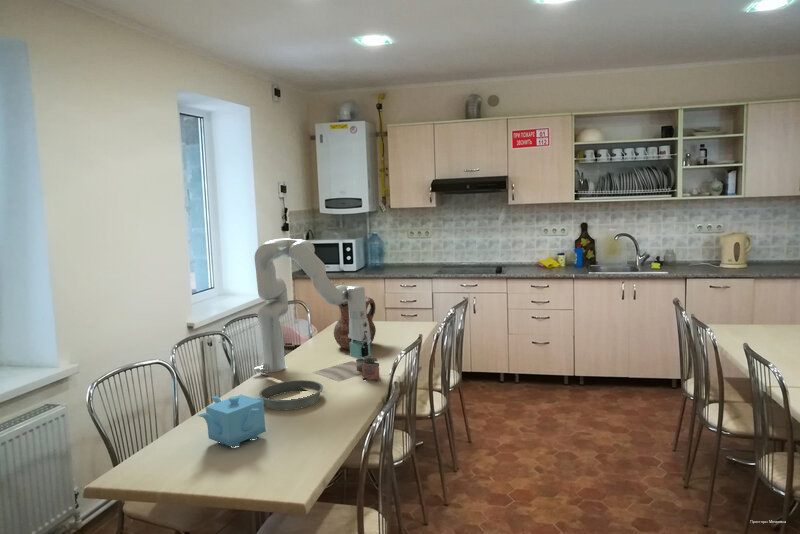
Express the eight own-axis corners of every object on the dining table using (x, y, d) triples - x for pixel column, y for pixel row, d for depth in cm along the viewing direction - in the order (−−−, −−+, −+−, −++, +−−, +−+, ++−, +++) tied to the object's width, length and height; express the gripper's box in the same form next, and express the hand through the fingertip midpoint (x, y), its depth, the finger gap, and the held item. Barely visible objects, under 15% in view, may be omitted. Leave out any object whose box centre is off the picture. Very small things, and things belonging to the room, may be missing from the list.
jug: (357, 354, 299) (353, 304, 296) (325, 349, 311) (322, 301, 308) (385, 344, 316) (382, 296, 313) (354, 339, 329) (351, 293, 326)
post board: (339, 384, 254) (338, 370, 253) (312, 375, 269) (311, 362, 268) (380, 372, 268) (379, 358, 268) (352, 364, 283) (351, 351, 282)
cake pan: (333, 391, 247) (332, 380, 246) (308, 413, 224) (307, 401, 223) (277, 389, 254) (277, 378, 253) (248, 410, 230) (246, 399, 230)
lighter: (361, 380, 258) (359, 357, 257) (365, 378, 261) (363, 355, 260) (377, 382, 254) (376, 359, 253) (381, 380, 257) (380, 356, 256)
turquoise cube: (358, 358, 263) (357, 345, 262) (350, 356, 268) (349, 342, 267) (370, 355, 267) (369, 342, 266) (362, 352, 272) (361, 339, 271)
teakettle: (268, 427, 212) (265, 386, 210) (262, 449, 194) (258, 404, 192) (212, 432, 210) (208, 391, 208) (201, 455, 192) (196, 410, 190)
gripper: (376, 315, 261) (379, 356, 263) (353, 310, 274) (355, 349, 276) (362, 318, 256) (365, 360, 258) (339, 313, 269) (342, 353, 272)
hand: (360, 354), depth 267 cm, fingers closed on turquoise cube, 6 cm apart
